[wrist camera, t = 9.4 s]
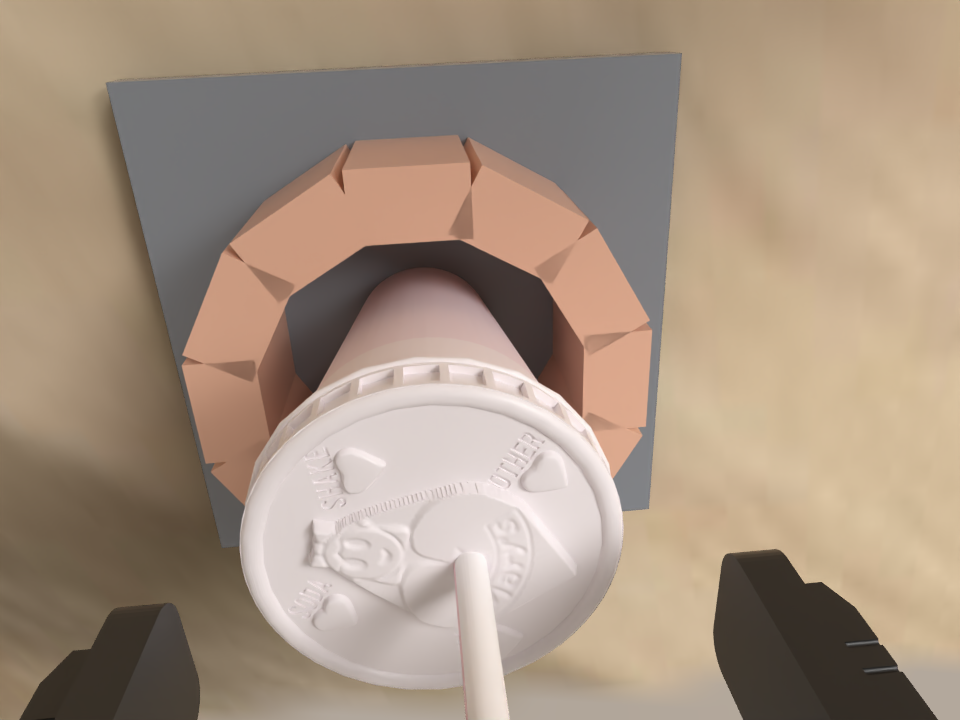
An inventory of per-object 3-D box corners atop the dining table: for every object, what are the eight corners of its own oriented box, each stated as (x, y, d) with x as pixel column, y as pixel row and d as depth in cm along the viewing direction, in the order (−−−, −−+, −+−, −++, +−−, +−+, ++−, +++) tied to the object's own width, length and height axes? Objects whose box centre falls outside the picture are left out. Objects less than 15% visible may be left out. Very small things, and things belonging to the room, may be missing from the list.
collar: (668, 52, 19) (750, 61, 14) (640, 491, 25) (691, 595, 20) (121, 79, 18) (24, 98, 13) (229, 528, 24) (187, 645, 19)
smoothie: (509, 438, 22) (642, 984, 10) (299, 412, 21) (137, 986, 9) (558, 239, 20) (828, 626, 7) (321, 198, 19) (139, 567, 6)
